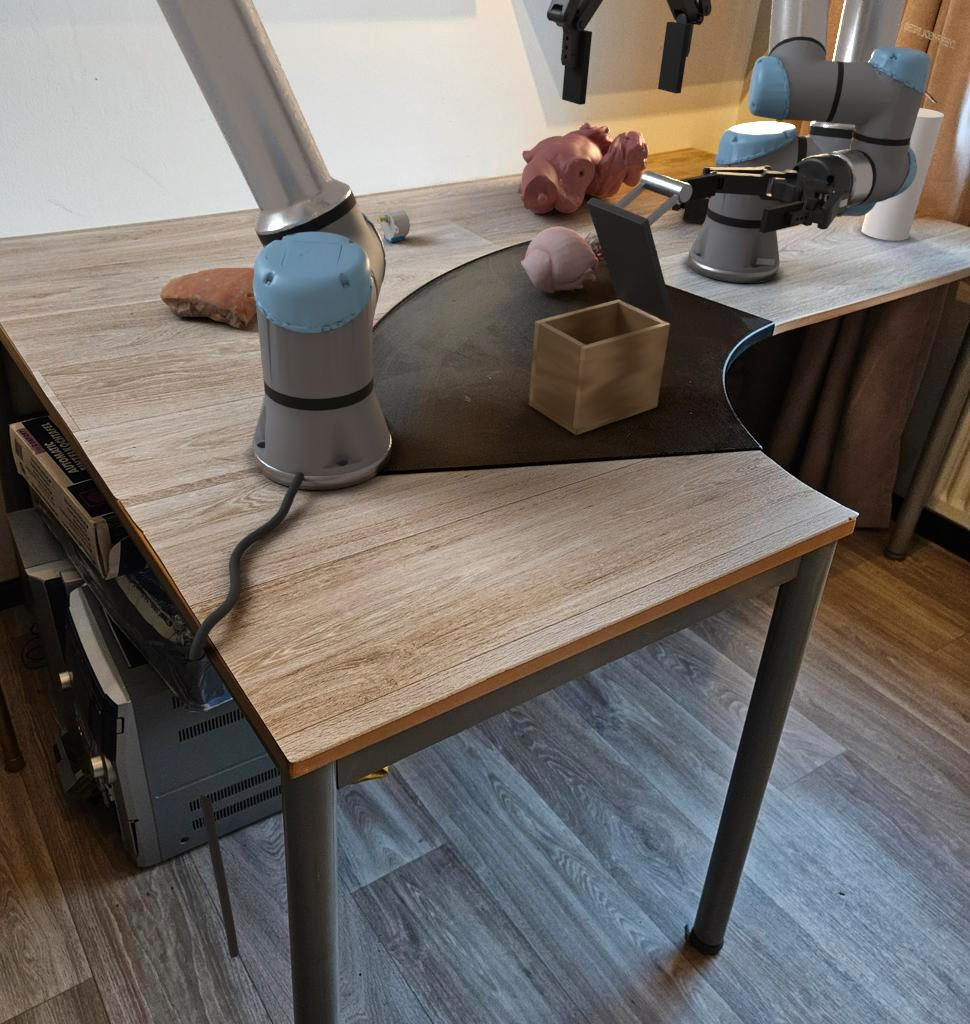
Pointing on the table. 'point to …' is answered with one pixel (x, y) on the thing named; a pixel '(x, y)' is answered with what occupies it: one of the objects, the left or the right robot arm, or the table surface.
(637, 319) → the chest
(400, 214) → the electric motor
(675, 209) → the toy
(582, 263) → the toy
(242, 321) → the ceramic shard
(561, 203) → the reddish clay figurine
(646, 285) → the lid
